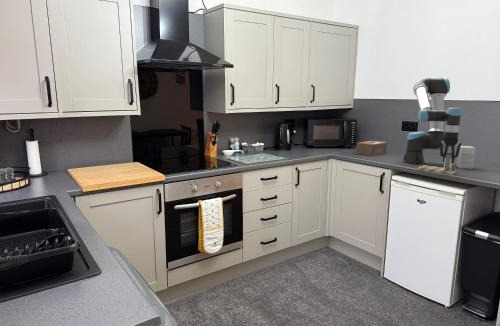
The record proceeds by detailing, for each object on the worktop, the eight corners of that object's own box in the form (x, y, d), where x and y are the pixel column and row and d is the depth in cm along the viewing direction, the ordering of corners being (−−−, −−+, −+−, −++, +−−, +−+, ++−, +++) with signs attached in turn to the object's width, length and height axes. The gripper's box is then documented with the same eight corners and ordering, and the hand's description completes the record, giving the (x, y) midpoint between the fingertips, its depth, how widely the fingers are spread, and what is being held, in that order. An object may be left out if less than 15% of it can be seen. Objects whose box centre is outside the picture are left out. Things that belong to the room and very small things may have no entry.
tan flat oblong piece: (417, 169, 238) (418, 165, 237) (422, 167, 245) (422, 163, 245) (452, 174, 224) (452, 169, 223) (456, 172, 231) (456, 167, 230)
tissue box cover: (371, 156, 293) (372, 144, 291) (356, 154, 303) (356, 142, 301) (386, 153, 310) (386, 142, 308) (371, 151, 320) (371, 140, 319)
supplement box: (455, 165, 255) (457, 145, 252) (469, 166, 252) (471, 146, 249) (458, 168, 246) (461, 147, 243) (473, 168, 244) (476, 147, 241)
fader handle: (444, 169, 229) (446, 152, 227) (446, 168, 232) (448, 152, 230) (448, 169, 227) (450, 153, 225) (450, 168, 230) (452, 152, 228)
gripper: (437, 131, 228) (433, 166, 232) (464, 133, 217) (459, 170, 221) (440, 130, 233) (436, 165, 237) (467, 132, 222) (462, 168, 227)
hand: (447, 167), depth 229 cm, fingers closed on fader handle, 2 cm apart
